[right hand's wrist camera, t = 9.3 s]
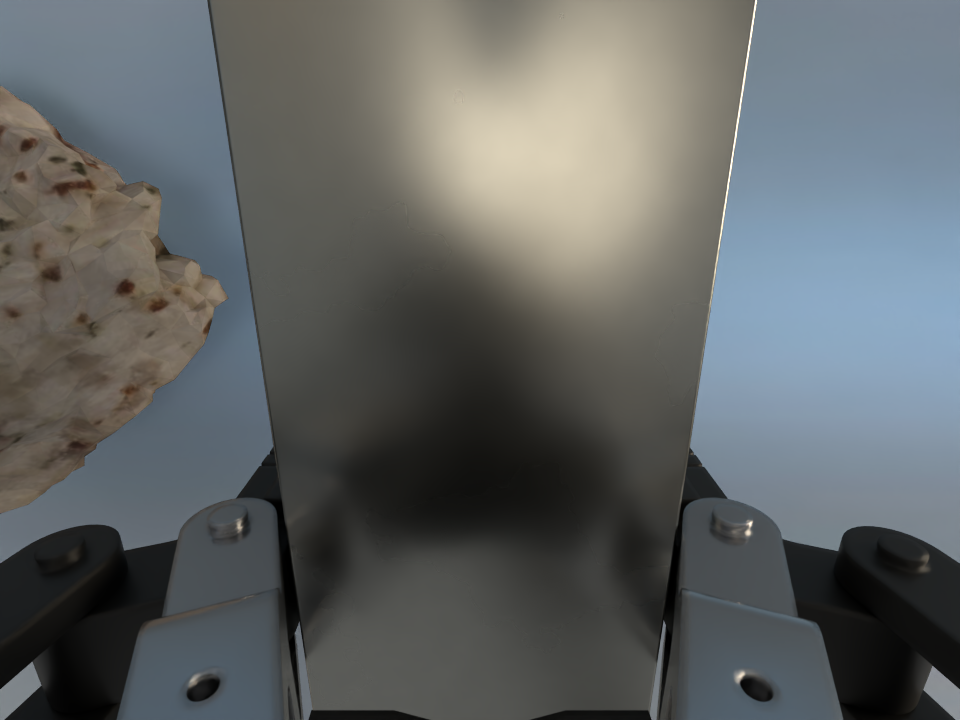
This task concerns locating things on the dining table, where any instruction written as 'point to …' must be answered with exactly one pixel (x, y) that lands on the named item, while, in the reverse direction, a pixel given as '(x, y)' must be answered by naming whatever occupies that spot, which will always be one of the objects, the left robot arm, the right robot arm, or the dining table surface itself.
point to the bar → (481, 328)
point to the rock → (81, 303)
